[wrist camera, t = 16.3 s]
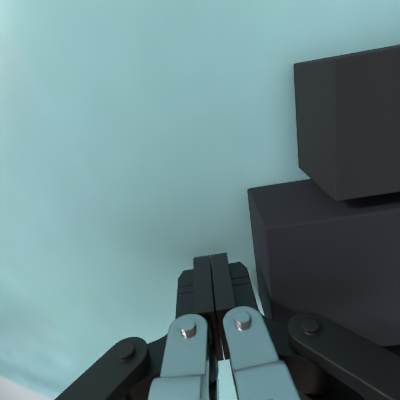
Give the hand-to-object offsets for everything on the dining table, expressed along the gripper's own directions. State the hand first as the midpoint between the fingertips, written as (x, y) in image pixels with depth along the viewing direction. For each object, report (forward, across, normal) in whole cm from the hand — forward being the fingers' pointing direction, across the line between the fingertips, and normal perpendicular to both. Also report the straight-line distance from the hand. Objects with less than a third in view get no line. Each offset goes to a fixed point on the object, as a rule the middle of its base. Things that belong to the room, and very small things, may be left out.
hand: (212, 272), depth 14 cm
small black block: (+2, -5, 0) cm, 5 cm away
